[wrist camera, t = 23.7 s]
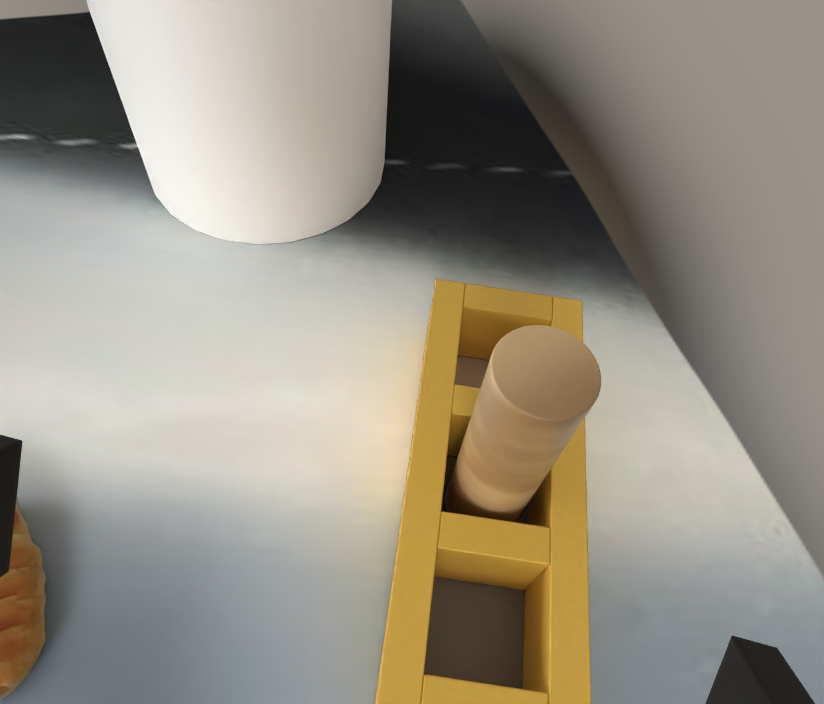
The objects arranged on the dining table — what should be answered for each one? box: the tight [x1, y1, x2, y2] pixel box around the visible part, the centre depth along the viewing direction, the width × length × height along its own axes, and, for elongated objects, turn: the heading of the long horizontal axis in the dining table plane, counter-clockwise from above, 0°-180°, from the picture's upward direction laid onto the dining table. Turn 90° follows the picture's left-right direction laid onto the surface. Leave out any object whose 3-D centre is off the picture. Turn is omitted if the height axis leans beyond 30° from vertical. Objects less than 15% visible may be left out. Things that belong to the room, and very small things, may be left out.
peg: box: [445, 325, 601, 522], centre depth 29 cm, size 4×4×14 cm
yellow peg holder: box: [375, 279, 591, 704], centre depth 32 cm, size 8×22×5 cm, turn 173°
